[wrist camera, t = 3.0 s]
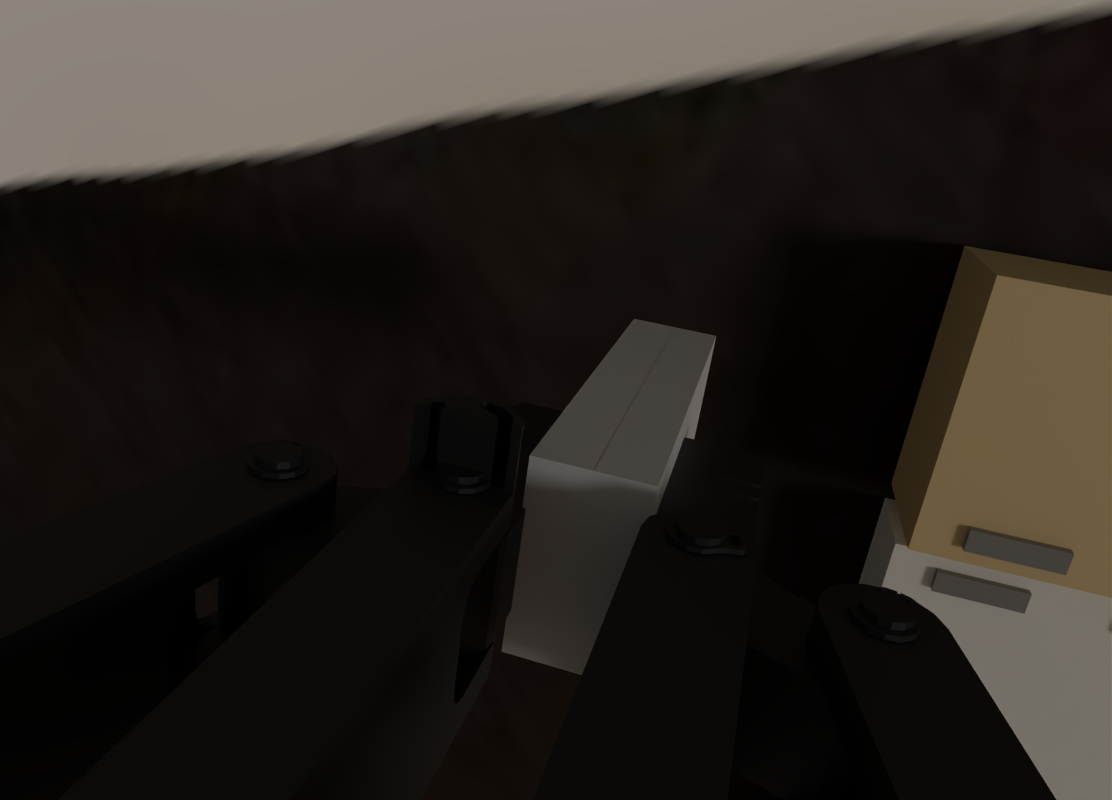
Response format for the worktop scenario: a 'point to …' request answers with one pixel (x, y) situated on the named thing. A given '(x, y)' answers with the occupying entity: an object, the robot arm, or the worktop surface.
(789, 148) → the worktop surface
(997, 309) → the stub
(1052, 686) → the flat white box
